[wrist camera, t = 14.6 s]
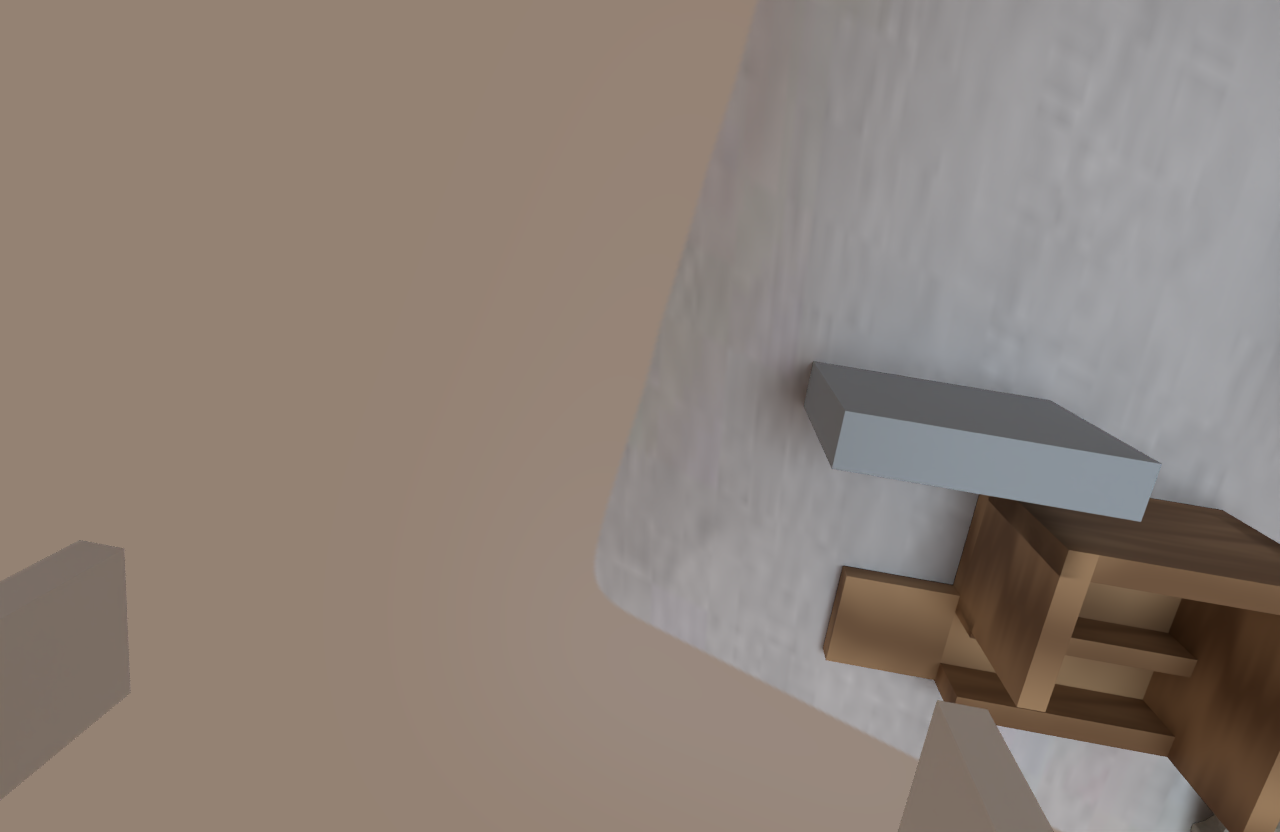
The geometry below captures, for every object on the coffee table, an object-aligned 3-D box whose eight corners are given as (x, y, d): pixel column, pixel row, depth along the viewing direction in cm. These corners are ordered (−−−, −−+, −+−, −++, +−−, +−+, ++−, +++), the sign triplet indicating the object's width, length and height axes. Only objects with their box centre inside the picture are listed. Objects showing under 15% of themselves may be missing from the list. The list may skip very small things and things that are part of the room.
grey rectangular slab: (813, 361, 39) (845, 410, 29) (1050, 400, 38) (1161, 464, 29) (803, 405, 40) (832, 468, 30) (1036, 444, 39) (1141, 521, 29)
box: (870, 451, 40) (917, 523, 31) (1222, 510, 39) (1380, 603, 30) (822, 649, 43) (851, 769, 34) (1146, 708, 42) (1266, 848, 33)
